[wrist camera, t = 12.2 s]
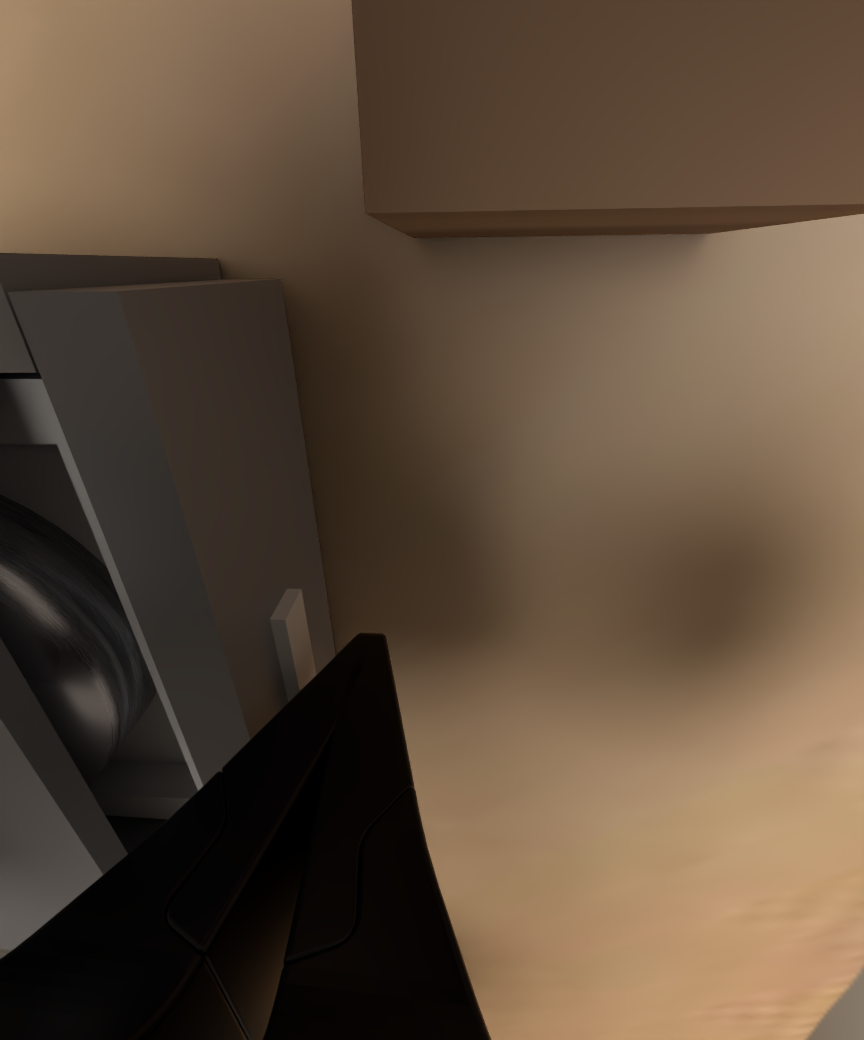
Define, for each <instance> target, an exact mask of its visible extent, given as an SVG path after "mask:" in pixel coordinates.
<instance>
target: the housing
mask: <svg viewBox="0 0 864 1040" xmlns="http://www.w3.org/2000/svg"><path fill="white" fill-rule="evenodd" d="M205 280H222V279H221V274H220V269H219V264H218V259H213V258H174V257H135V256H97V255H58V254H19V253H0V373H37V372H39V370H38V368H37V365H36V363H35V360H34V358H33V355H32V353H31V350H30V348H29V345H28V343H27V340H26V338H25V335H24V332H23V330H22V327H21V325H20V322H19V320H18V317H17V315H16V312H15V310H14V307H13V305H12V302H11V300H10V297H9V295H8V292H17V291H34V290H51V289H68V288H85V287H102V286H119V285H136V284H153V283H171V282H188V281H205ZM167 820H168V819H153V818H138V817H123V816H108V815H105V814H104V813H103V811H102V809H101V808H100V806H99V804H98V802H97V801H96V799H95V797H94V796H93V794H92V792H91V791H90V789H89V787H88V785H87V784H86V782H85V780H84V779H83V777H82V775H81V774H80V772H79V770H78V768H77V767H76V765H75V763H74V762H73V760H72V758H71V757H70V755H69V753H68V751H67V750H66V748H65V746H64V745H63V743H62V741H61V740H60V738H59V736H58V734H57V733H56V731H55V729H54V728H53V726H52V724H51V722H50V721H49V719H48V717H47V716H46V714H45V712H44V711H43V709H42V707H41V705H40V704H39V702H38V700H37V699H36V697H35V695H34V694H33V692H32V690H31V688H30V687H29V685H28V683H27V682H26V680H25V678H24V677H23V675H22V673H21V671H20V670H19V668H18V666H17V665H16V663H15V661H14V659H13V658H12V656H11V654H10V653H9V651H8V649H7V648H6V646H5V644H4V642H3V641H2V639H1V637H0V949H8V950H13V949H14V948H16V947H17V946H18V945H19V944H21V943H22V942H23V941H24V940H26V939H27V938H28V937H30V936H31V935H32V934H33V933H34V932H36V931H37V930H38V929H39V928H40V927H42V926H43V925H44V924H45V923H46V922H48V921H49V920H50V919H51V918H52V917H54V916H55V915H56V914H57V913H58V912H60V911H61V910H62V909H63V908H64V907H65V906H67V905H68V904H69V903H70V902H71V901H73V900H74V899H75V898H76V897H77V896H79V895H80V894H81V893H82V892H83V891H85V890H86V889H87V888H88V887H89V886H90V885H92V884H93V883H94V882H95V881H96V880H98V879H99V878H100V877H101V876H102V875H104V874H105V873H106V872H107V871H108V870H110V869H111V868H112V867H113V866H114V865H116V864H117V863H118V862H119V861H120V860H121V859H123V858H124V857H125V856H126V855H127V854H129V853H130V852H131V851H132V850H133V849H134V848H136V847H137V846H138V845H139V844H140V843H141V842H142V841H144V840H145V839H146V838H147V837H148V836H149V835H151V834H152V833H153V832H154V831H155V830H156V829H157V828H159V827H160V826H161V825H162V824H163V823H164V822H165V821H167Z"/></svg>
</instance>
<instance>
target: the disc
mask: <svg viewBox="0 0 864 1040" xmlns="http://www.w3.org/2000/svg"><path fill="white" fill-rule="evenodd" d="M0 637H1V639H2V641H3V642H4V644H5V646H6V648H7V649H8V651H9V653H10V654H11V656H12V658H13V659H14V661H15V663H16V665H17V666H18V668H19V670H20V671H21V673H22V675H23V677H24V678H25V680H26V682H27V683H28V685H29V687H30V688H31V690H32V692H33V694H34V695H35V697H36V699H37V700H38V702H39V704H40V705H41V707H42V709H43V711H44V712H45V714H46V716H47V717H48V719H49V721H50V722H51V724H52V726H53V728H54V729H55V731H56V733H57V734H58V736H59V738H60V740H61V741H62V743H63V745H64V746H65V748H66V750H67V751H68V753H69V755H70V757H71V758H72V760H73V762H74V763H75V765H76V767H77V768H78V770H79V772H80V774H81V775H82V777H83V779H84V780H85V782H86V784H87V785H88V786H90V785H91V784H92V783H93V782H94V781H95V780H96V778H97V777H98V776H99V775H100V774H101V772H102V771H103V770H104V768H105V767H106V765H107V764H108V763H109V761H110V760H111V759H112V757H113V756H114V754H115V753H116V752H117V750H118V749H119V748H120V746H121V745H122V743H123V742H124V741H125V739H126V738H127V736H128V735H129V734H130V732H131V731H132V730H133V728H134V727H135V725H136V724H137V723H138V721H139V720H140V719H141V717H142V716H143V714H144V713H145V712H146V710H147V709H148V707H149V706H150V704H151V702H152V700H153V698H154V696H155V694H156V690H157V689H156V686H155V684H154V682H153V679H152V677H151V674H150V672H149V669H148V667H147V664H146V662H145V659H144V657H143V655H142V652H141V650H140V647H139V645H138V642H137V640H136V637H135V635H134V633H133V630H132V628H131V625H130V623H129V620H128V618H127V615H126V613H125V610H124V608H123V606H122V603H121V601H120V598H119V596H118V593H117V591H116V588H115V586H114V583H113V581H112V579H111V576H110V574H109V571H108V569H107V567H106V566H105V565H104V564H103V563H102V562H101V561H100V560H99V559H98V558H96V557H95V556H94V555H93V554H92V553H91V552H90V551H88V550H87V549H86V548H85V547H84V546H83V545H82V544H80V543H79V542H78V541H77V540H75V539H74V538H73V537H71V536H70V535H68V534H67V533H66V532H64V531H63V530H62V529H60V528H59V527H58V526H56V525H55V524H53V523H51V522H50V521H48V520H47V519H45V518H43V517H42V516H40V515H38V514H37V513H35V512H34V511H32V510H30V509H28V508H26V507H25V506H23V505H21V504H19V503H17V502H15V501H13V500H11V499H9V498H7V497H5V496H3V495H0Z"/></svg>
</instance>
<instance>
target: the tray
mask: <svg viewBox="0 0 864 1040" xmlns="http://www.w3.org/2000/svg"><path fill="white" fill-rule="evenodd" d="M8 295H9V297H10V300H11V302H12V305H13V307H14V310H15V312H16V315H17V317H18V320H19V322H20V325H21V327H22V330H23V332H24V335H25V338H26V340H27V343H28V345H29V348H30V350H31V353H32V355H33V358H34V360H35V363H36V365H37V368H38V370H39V372H37V373H0V495H3V496H5V497H7V498H9V499H11V500H13V501H15V502H17V503H19V504H21V505H23V506H25V507H26V508H28V509H30V510H32V511H34V512H35V513H37V514H38V515H40V516H42V517H43V518H45V519H47V520H48V521H50V522H51V523H53V524H55V525H56V526H58V527H59V528H60V529H62V530H63V531H64V532H66V533H67V534H68V535H70V536H71V537H73V538H74V539H75V540H77V541H78V542H79V543H80V544H82V545H83V546H84V547H85V548H86V549H87V550H88V551H90V552H91V553H92V554H93V555H94V556H95V557H96V558H98V559H99V560H100V561H101V562H102V563H103V564H104V565H105V566H106V567H107V569H108V571H109V574H110V576H111V579H112V581H113V583H114V586H115V588H116V591H117V593H118V596H119V598H120V601H121V603H122V606H123V608H124V610H125V613H126V615H127V618H128V620H129V623H130V625H131V628H132V630H133V633H134V635H135V637H136V640H137V642H138V645H139V647H140V650H141V652H142V655H143V657H144V659H145V662H146V664H147V667H148V669H149V672H150V674H151V677H152V679H153V682H154V684H155V686H156V689H157V690H156V694H155V696H154V698H153V700H152V702H151V704H150V706H149V707H148V709H147V710H146V712H145V713H144V714H143V716H142V717H141V719H140V720H139V721H138V723H137V724H136V725H135V727H134V728H133V730H132V731H131V732H130V734H129V735H128V736H127V738H126V739H125V741H124V742H123V743H122V745H121V746H120V748H119V749H118V750H117V752H116V753H115V754H114V756H113V757H112V759H111V760H110V761H109V763H108V764H107V765H106V767H105V768H104V770H103V771H102V772H101V774H100V775H99V776H98V777H97V778H96V780H95V781H94V782H93V783H92V784H91V785H90V786H88V787H89V789H90V791H91V792H92V794H93V796H94V797H95V799H96V801H97V802H98V804H99V806H100V808H101V809H102V811H103V813H104V814H105V815H108V816H123V817H138V818H153V819H169V818H170V817H171V816H172V815H173V814H174V813H175V812H176V811H177V810H178V809H179V808H180V807H182V806H183V805H184V804H185V803H186V802H187V801H188V800H189V799H190V798H191V797H192V796H193V795H194V794H195V793H196V792H197V791H199V790H200V789H201V788H202V787H203V786H204V785H205V784H206V783H207V782H208V781H209V780H210V779H211V778H212V777H213V776H214V775H215V774H216V773H217V772H218V771H221V772H222V767H223V766H224V765H225V764H226V763H227V762H228V761H229V760H230V759H231V758H232V757H233V756H234V755H235V754H236V753H237V752H238V751H239V750H240V749H241V748H243V747H244V746H245V745H246V744H247V743H248V742H249V741H250V740H251V739H252V738H253V737H254V736H255V735H256V734H257V733H258V732H259V731H260V730H261V729H262V728H263V727H264V726H265V725H266V724H267V723H268V722H269V721H270V720H271V719H272V718H273V717H274V716H275V715H276V714H277V713H278V712H279V711H280V710H281V709H282V708H283V707H284V706H285V705H286V704H287V703H288V702H289V701H290V700H291V699H292V698H293V697H294V696H295V695H296V694H297V693H298V692H299V691H300V690H301V689H302V688H303V687H304V686H305V685H306V684H308V683H309V682H310V681H311V680H312V679H313V678H314V677H315V676H316V675H317V674H318V673H319V672H320V671H321V670H322V669H323V668H324V667H325V666H326V665H327V664H328V663H329V662H330V661H331V660H332V659H333V658H334V657H335V656H336V655H335V648H334V641H333V634H332V627H331V620H330V613H329V606H328V599H327V592H326V586H325V579H324V572H323V565H322V558H321V551H320V544H319V537H318V530H317V523H316V516H315V510H314V503H313V496H312V489H311V482H310V475H309V468H308V461H307V454H306V447H305V440H304V434H303V427H302V420H301V413H300V406H299V399H298V392H297V385H296V378H295V371H294V364H293V358H292V351H291V344H290V337H289V330H288V323H287V316H286V309H285V302H284V295H283V288H282V282H281V279H229V280H205V281H188V282H171V283H153V284H136V285H119V286H102V287H85V288H68V289H51V290H34V291H17V292H8Z"/></svg>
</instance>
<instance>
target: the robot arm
mask: <svg viewBox="0 0 864 1040" xmlns="http://www.w3.org/2000/svg"><path fill="white" fill-rule="evenodd" d="M0 1040H491V1038H490V1035H489V1032H488V1030H487V1027H486V1025H485V1022H484V1019H483V1016H482V1013H481V1011H480V1008H479V1005H478V1002H477V999H476V996H475V993H474V990H473V987H472V984H471V981H470V978H469V975H468V972H467V969H466V966H465V963H464V960H463V957H462V954H461V951H460V948H459V945H458V942H457V939H456V936H455V933H454V930H453V927H452V924H451V921H450V918H449V915H448V912H447V909H446V906H445V903H444V900H443V897H442V894H441V891H440V888H439V884H438V881H437V878H436V874H435V871H434V868H433V864H432V861H431V858H430V854H429V851H428V848H427V843H426V839H425V834H424V830H423V826H422V821H421V817H420V812H419V807H418V802H417V796H416V791H415V789H414V782H413V777H412V771H411V766H410V761H409V755H408V750H407V745H406V740H405V734H404V729H403V724H402V718H401V713H400V708H399V703H398V697H397V692H396V687H395V681H394V676H393V671H392V665H391V660H390V655H389V650H388V644H387V639H386V636H385V635H384V634H380V633H359V634H357V635H356V636H355V637H354V638H353V639H352V640H351V641H350V642H349V643H348V644H347V645H346V646H345V647H344V648H343V649H342V650H341V651H340V652H339V653H338V654H337V655H336V656H335V657H334V658H333V659H332V660H331V661H330V662H329V663H328V664H327V665H326V666H325V667H324V668H323V669H322V670H321V671H320V672H319V673H318V674H317V675H316V676H315V677H314V678H313V679H312V680H311V681H310V682H309V683H308V684H306V685H305V686H304V687H303V688H302V689H301V690H300V691H299V692H298V693H297V694H296V695H295V696H294V697H293V698H292V699H291V700H290V701H289V702H288V703H287V704H286V705H285V706H284V707H283V708H282V709H281V710H280V711H279V712H278V713H277V714H276V715H275V716H274V717H273V718H272V719H271V720H270V721H269V722H268V723H267V724H266V725H265V726H264V727H263V728H262V729H261V730H260V731H259V732H258V733H257V734H256V735H255V736H254V737H253V738H252V739H251V740H250V741H249V742H248V743H247V744H246V745H245V746H244V747H243V748H241V749H240V750H239V751H238V752H237V753H236V754H235V755H234V756H233V757H232V758H231V759H230V760H229V761H228V762H227V763H226V764H225V765H224V766H223V767H222V772H221V771H218V772H217V773H216V774H215V775H214V776H213V777H212V778H211V779H210V780H209V781H208V782H207V783H206V784H205V785H204V786H203V787H202V788H201V789H200V790H199V791H197V792H196V793H195V794H194V795H193V796H192V797H191V798H190V799H189V800H188V801H187V802H186V803H185V804H184V805H183V806H182V807H180V808H179V809H178V810H177V811H176V812H175V813H174V814H173V815H172V816H171V817H170V818H169V819H168V820H167V821H165V822H164V823H163V824H162V825H161V826H160V827H159V828H157V829H156V830H155V831H154V832H153V833H152V834H151V835H149V836H148V837H147V838H146V839H145V840H144V841H142V842H141V843H140V844H139V845H138V846H137V847H136V848H134V849H133V850H132V851H131V852H130V853H129V854H127V855H126V856H125V857H124V858H123V859H121V860H120V861H119V862H118V863H117V864H116V865H114V866H113V867H112V868H111V869H110V870H108V871H107V872H106V873H105V874H104V875H102V876H101V877H100V878H99V879H98V880H96V881H95V882H94V883H93V884H92V885H90V886H89V887H88V888H87V889H86V890H85V891H83V892H82V893H81V894H80V895H79V896H77V897H76V898H75V899H74V900H73V901H71V902H70V903H69V904H68V905H67V906H65V907H64V908H63V909H62V910H61V911H60V912H58V913H57V914H56V915H55V916H54V917H52V918H51V919H50V920H49V921H48V922H46V923H45V924H44V925H43V926H42V927H40V928H39V929H38V930H37V931H36V932H34V933H33V934H32V935H31V936H30V937H28V938H27V939H26V940H24V941H23V942H22V943H21V944H19V945H18V946H17V947H16V948H14V949H13V950H12V951H10V952H9V953H8V954H6V955H5V956H3V957H2V958H1V959H0Z"/></svg>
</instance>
